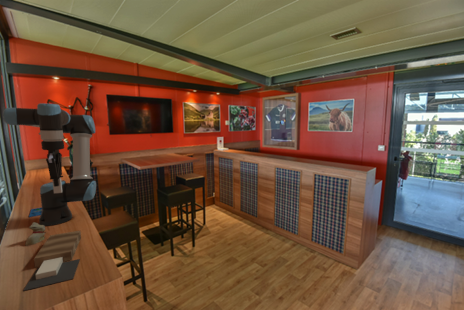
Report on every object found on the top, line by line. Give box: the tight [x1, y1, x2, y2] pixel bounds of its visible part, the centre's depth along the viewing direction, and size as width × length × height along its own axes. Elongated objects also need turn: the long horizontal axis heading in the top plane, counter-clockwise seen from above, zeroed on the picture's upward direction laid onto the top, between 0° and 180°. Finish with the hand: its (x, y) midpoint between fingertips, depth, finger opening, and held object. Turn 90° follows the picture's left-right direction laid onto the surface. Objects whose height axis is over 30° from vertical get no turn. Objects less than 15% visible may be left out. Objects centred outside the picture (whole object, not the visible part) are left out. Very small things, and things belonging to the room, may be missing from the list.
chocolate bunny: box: [25, 222, 46, 247], centre depth 104 cm, size 6×8×10 cm
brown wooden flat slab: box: [33, 230, 82, 269], centre depth 96 cm, size 20×12×4 cm, turn 26°
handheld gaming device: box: [28, 206, 42, 218], centre depth 139 cm, size 8×1×15 cm
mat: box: [22, 258, 81, 292], centre depth 82 cm, size 13×14×1 cm
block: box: [36, 257, 63, 279], centre depth 84 cm, size 9×6×2 cm, turn 26°
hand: (58, 192), depth 96 cm, fingers closed
